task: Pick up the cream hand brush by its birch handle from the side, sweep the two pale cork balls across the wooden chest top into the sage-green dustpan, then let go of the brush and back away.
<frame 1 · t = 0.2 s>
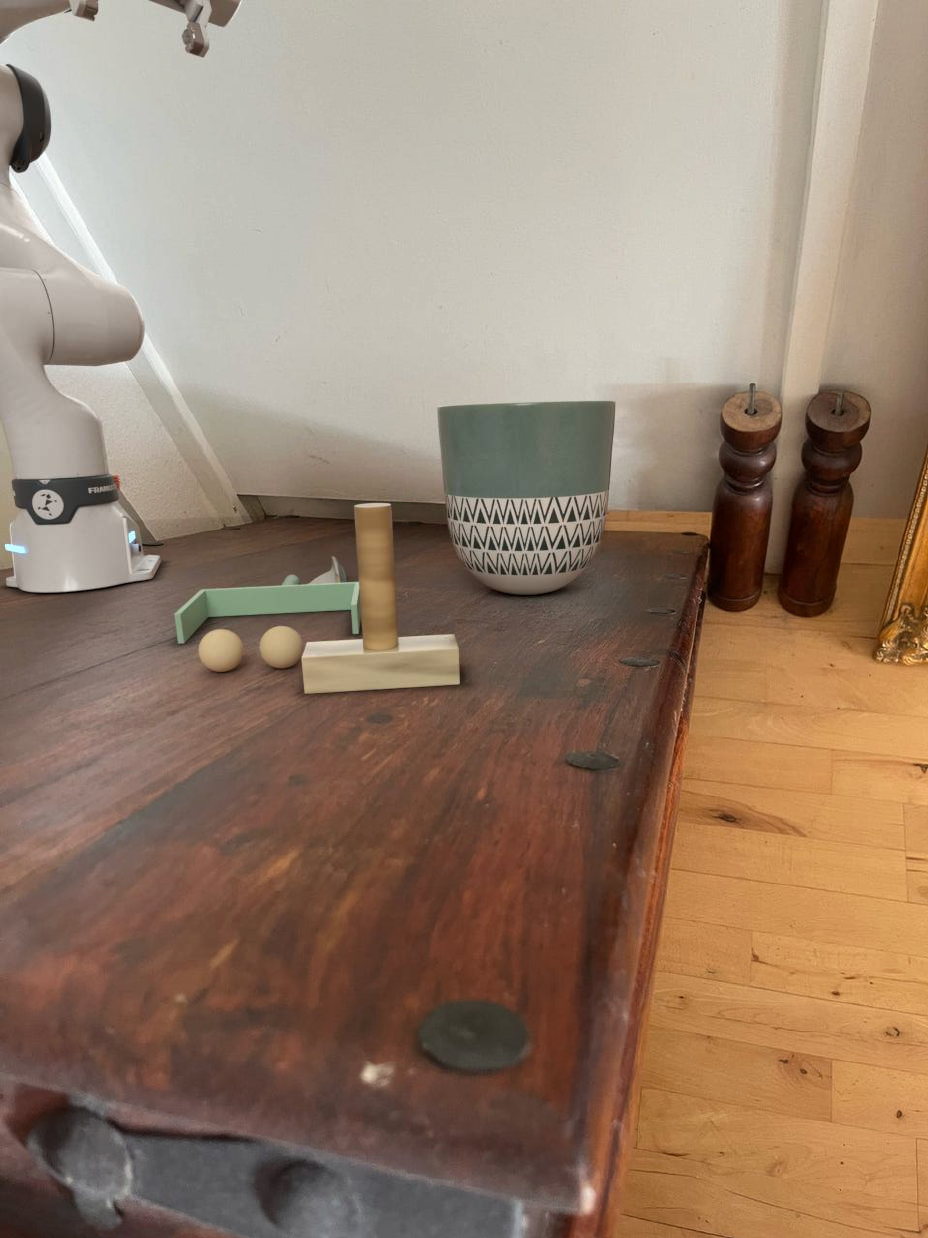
hand: (145, 32, 62), 52 cm above the table, tool tilted 20°, fingers open, 8 cm apart
cork ball 1: (221, 650, 63), point 2 cm above the table
planter: (526, 592, 89), on the table
dustpan: (276, 625, 77), on the table
cork ball 2: (281, 647, 63), point 2 cm above the table
ceramic fragment: (335, 590, 93), on the table
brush: (383, 680, 60), on the table
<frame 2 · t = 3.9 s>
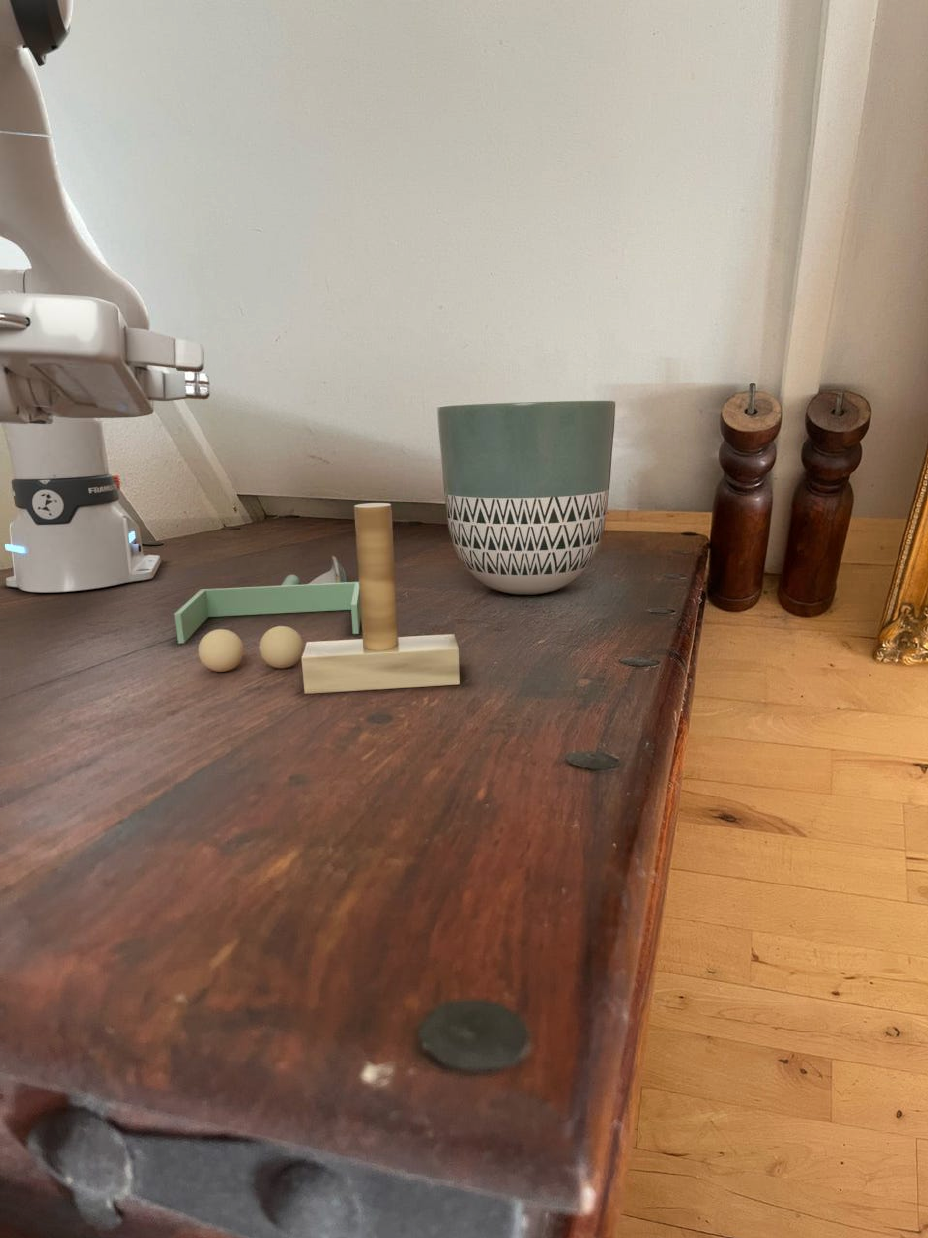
hand: (206, 373, 55), 24 cm above the table, tool horizontal, fingers open, 8 cm apart
nothing on the table moved.
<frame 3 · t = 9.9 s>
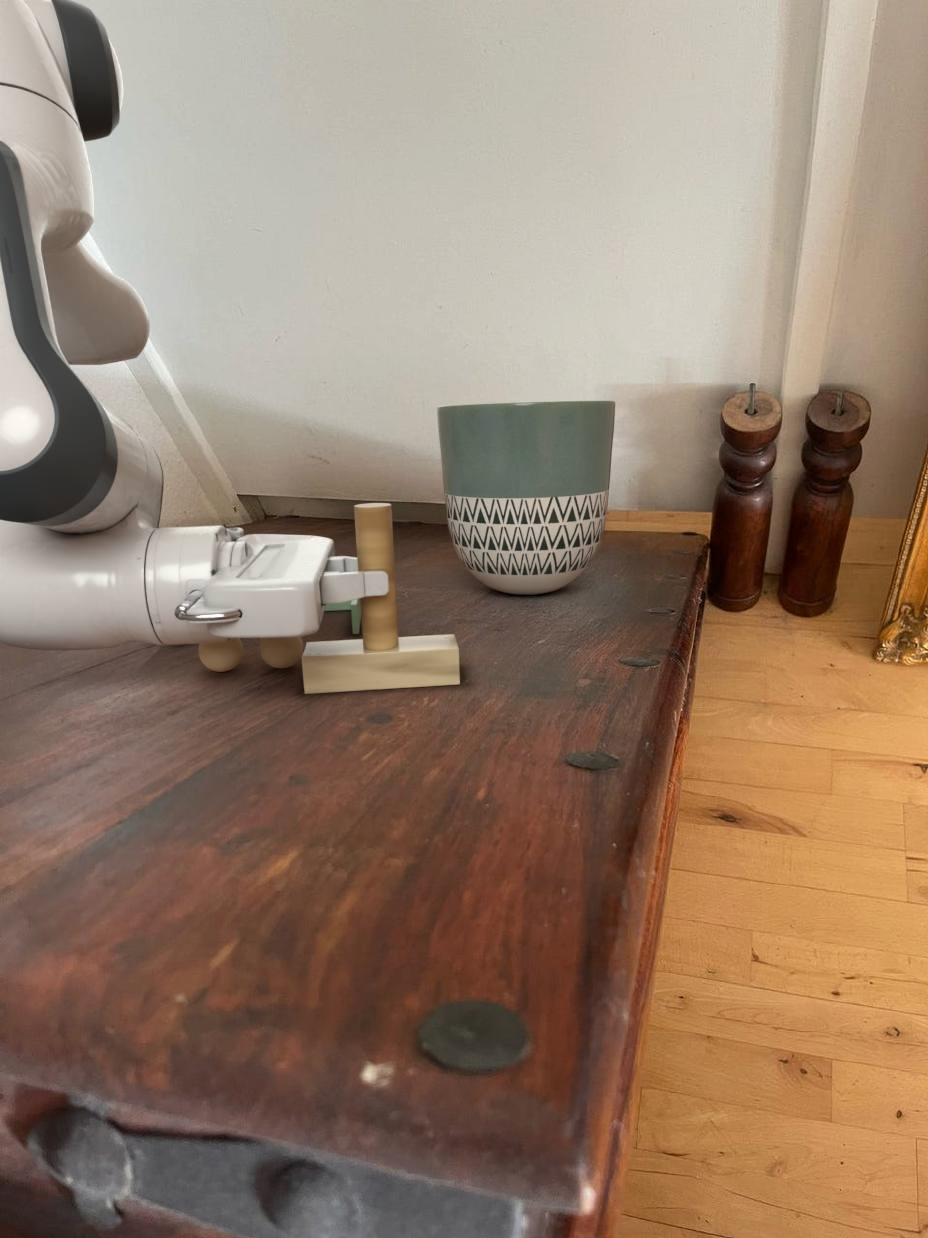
hand: (388, 575, 57), 9 cm above the table, tool horizontal, fingers closed on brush, 3 cm apart
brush: (383, 680, 60), on the table, touching gripper
everything else where it was.
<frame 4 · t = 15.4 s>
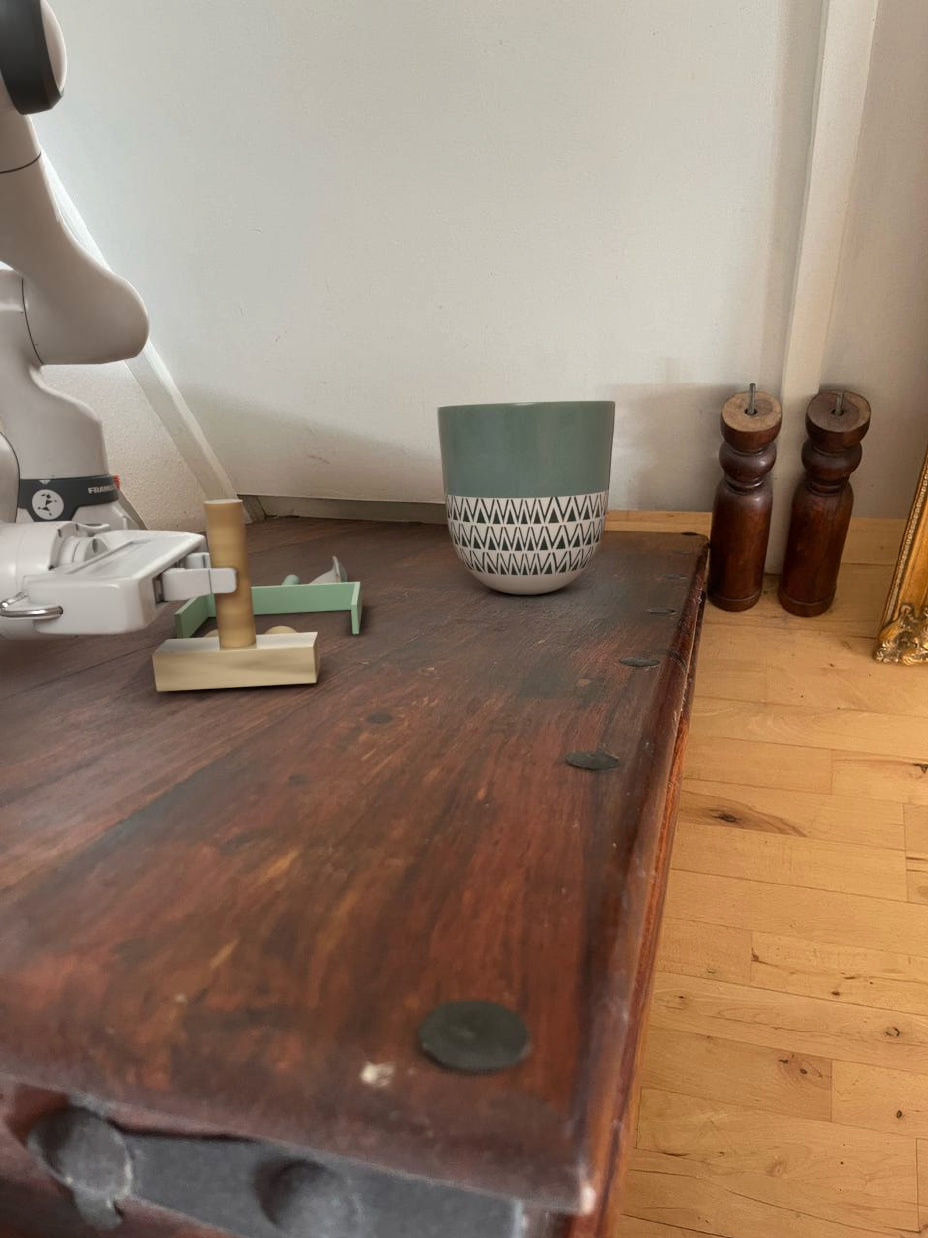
hand: (242, 572, 57), 9 cm above the table, tool horizontal, fingers closed on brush, 3 cm apart
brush: (242, 678, 59), point 1 cm above the table, touching gripper
everything else where it was.
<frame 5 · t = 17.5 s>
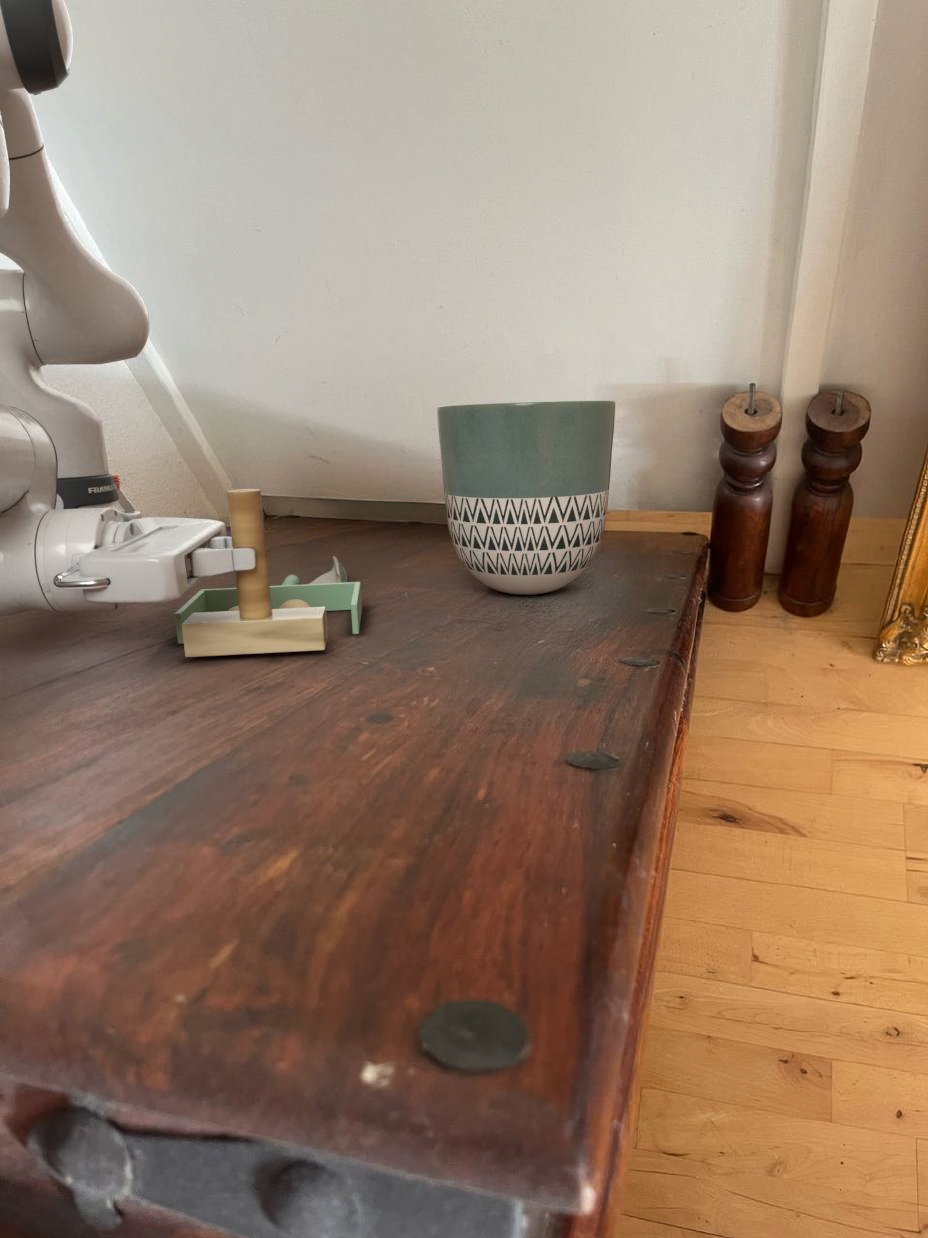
hand: (260, 553, 65), 9 cm above the table, tool horizontal, fingers closed on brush, 3 cm apart
cork ball 1: (241, 624, 71), point 2 cm above the table, tilted 93°
cork ball 2: (295, 617, 73), point 2 cm above the table, tilted 47°
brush: (259, 647, 67), point 1 cm above the table, touching gripper
everything else where it was.
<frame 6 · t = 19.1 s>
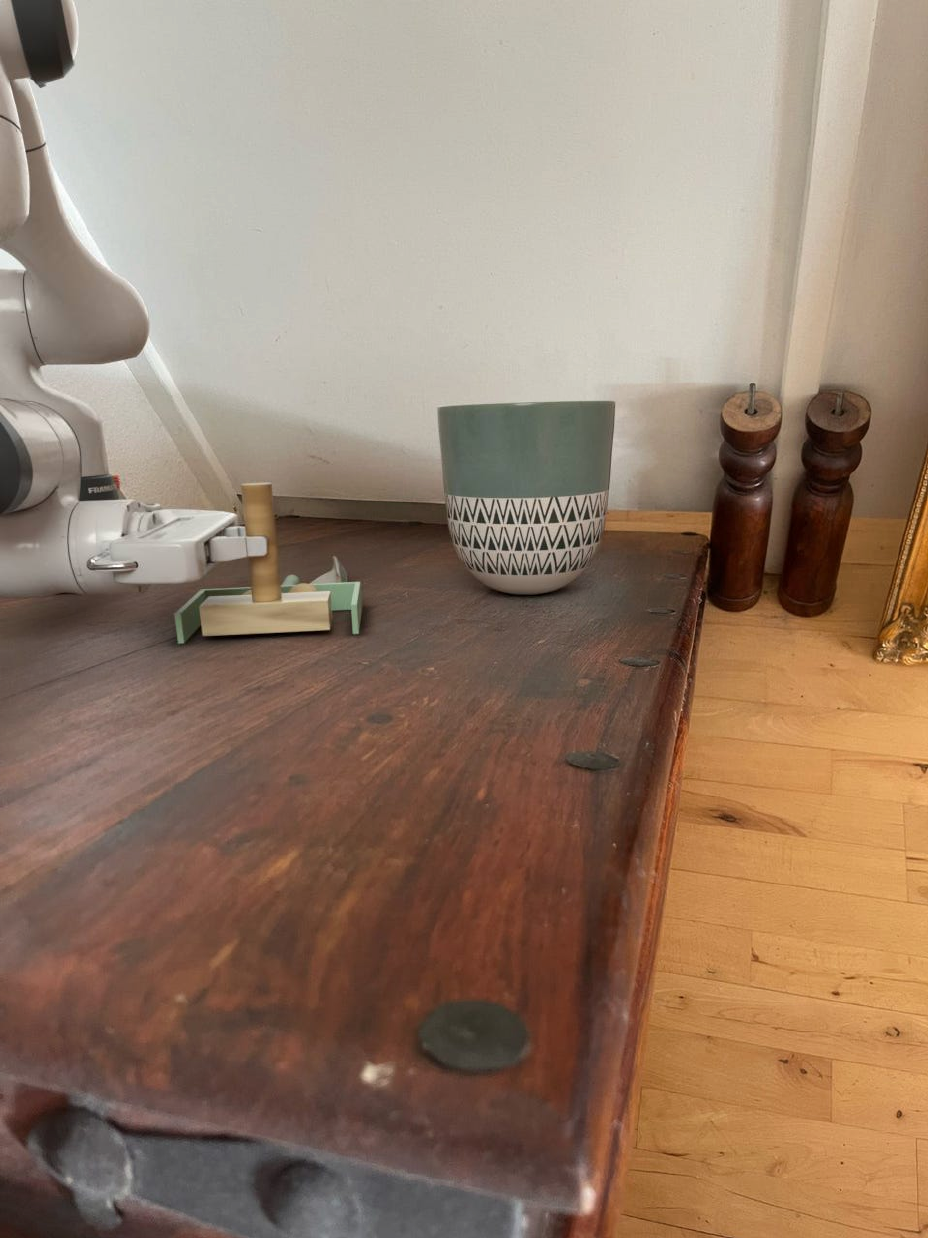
hand: (271, 541, 71), 9 cm above the table, tool horizontal, fingers closed on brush, 3 cm apart
cork ball 1: (254, 607, 77), point 2 cm above the table, tilted 123°
cork ball 2: (303, 600, 80), point 2 cm above the table, tilted 173°
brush: (269, 627, 73), point 1 cm above the table, touching gripper
everything else where it was.
when the fingers open (8 cm above the table, at t = 20.9 s): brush stays where it is, on the table.
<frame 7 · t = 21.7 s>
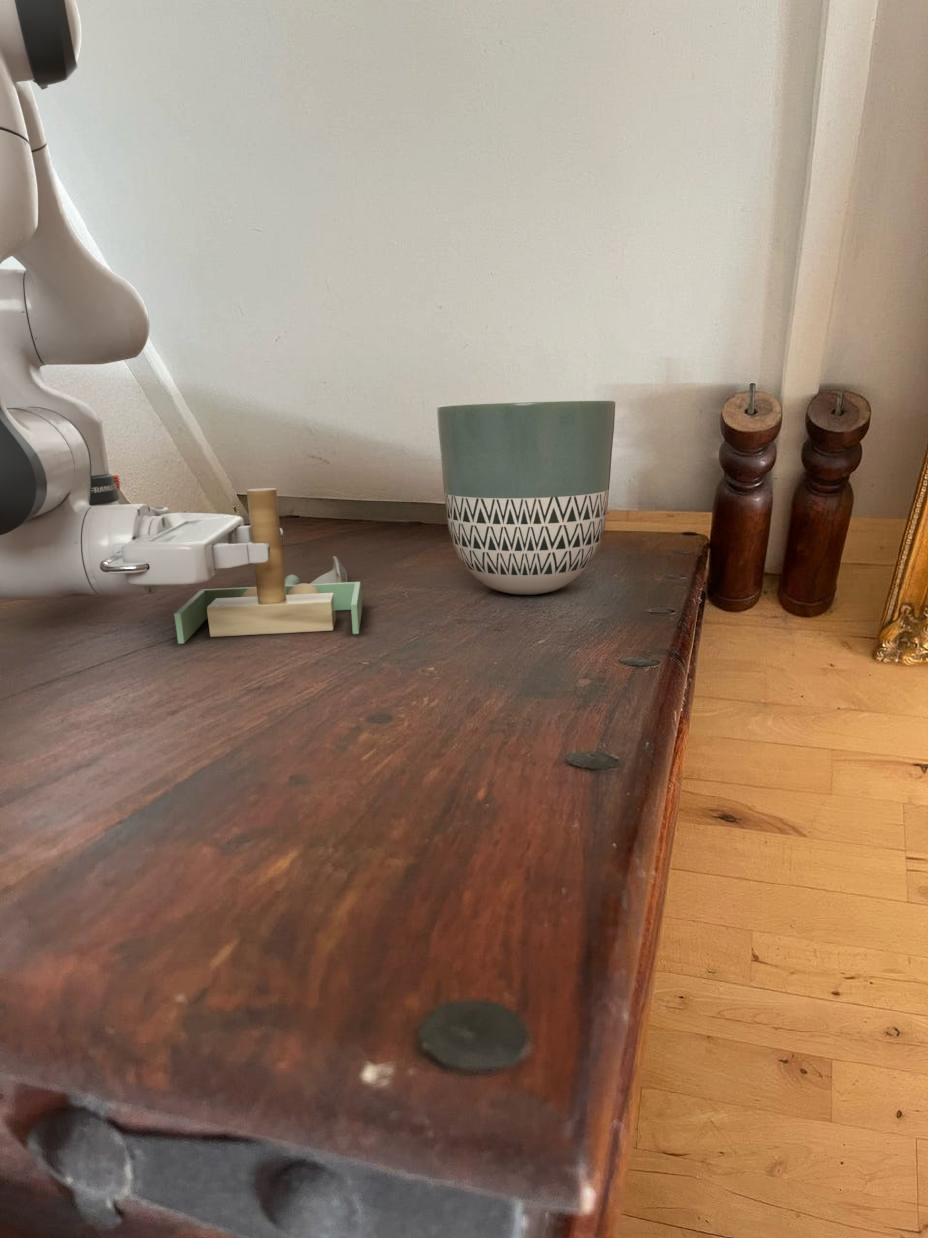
hand: (276, 543, 74), 9 cm above the table, tool horizontal, fingers open, 8 cm apart
cork ball 1: (257, 603, 79), point 2 cm above the table, tilted 173°
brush: (275, 628, 76), on the table
everything else where it was.
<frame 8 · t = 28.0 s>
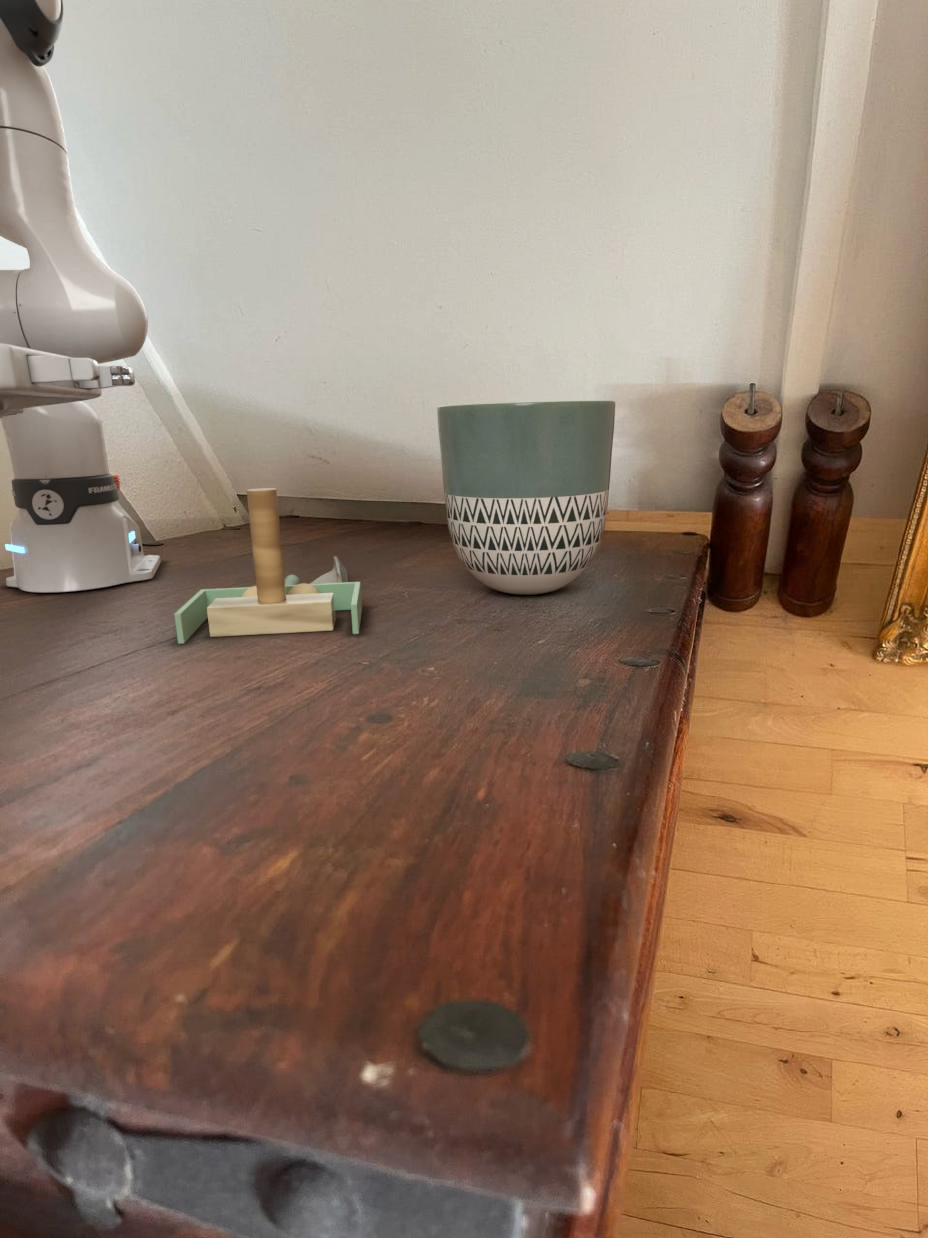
hand: (115, 372, 68), 25 cm above the table, tool horizontal, fingers open, 8 cm apart
at the end: cork ball 1 inside the target area on the dustpan (4.0 cm from its centre), point 1.8 cm above the dustpan's base; cork ball 2 inside the target area on the dustpan (4.2 cm from its centre), point 1.8 cm above the dustpan's base; the gripper is holding nothing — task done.
